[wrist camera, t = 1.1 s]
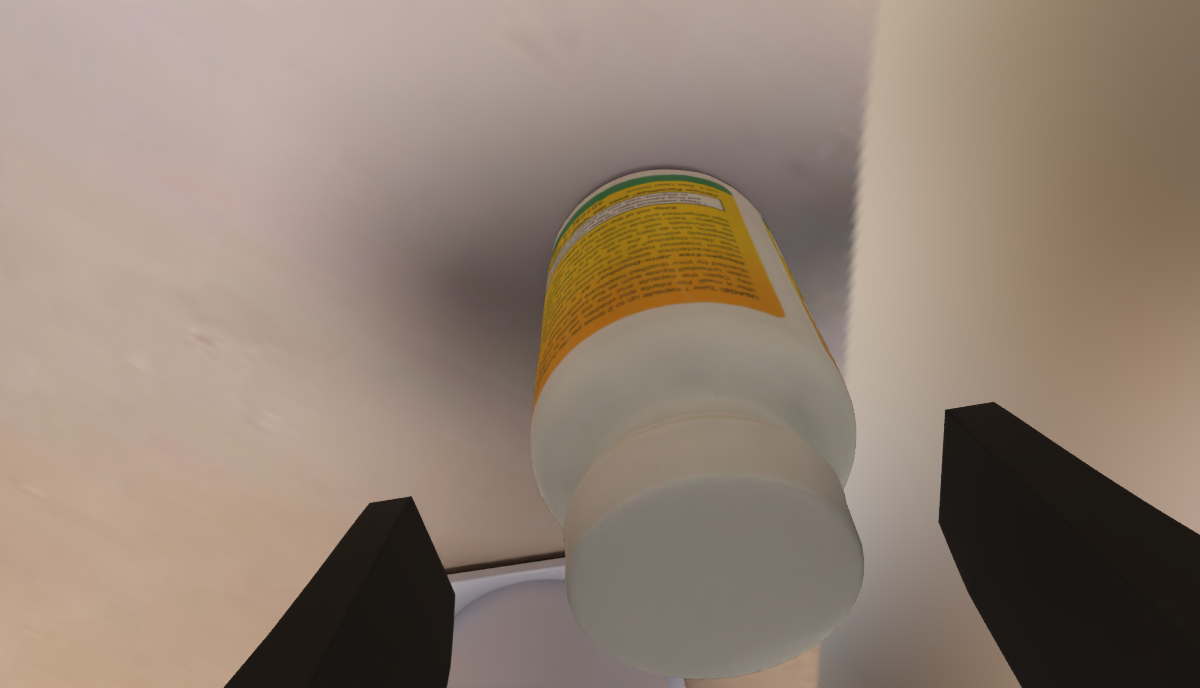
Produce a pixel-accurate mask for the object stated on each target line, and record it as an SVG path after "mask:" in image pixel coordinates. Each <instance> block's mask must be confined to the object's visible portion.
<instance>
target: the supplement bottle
mask: <svg viewBox="0 0 1200 688" xmlns="http://www.w3.org/2000/svg"><path fill="white" fill-rule="evenodd" d="M855 447H856V423H855V414H854V409H853V405H852V401H851V398H850V395H849V393H848V390H847V387H846V385H845V382H844V380H843V378H842V376H841V374H840V371H839V369H838V367H837V365H836V363H835V361H834V359H833V357H832V355H831V352H830V351H829V349H828V347H827V345H826V343H825V341H824V339H823V337H822V335H821V333H820V331H819V329H818V327H817V325H816V323H815V321H814V319H813V317H812V315H811V313H810V311H809V309H808V307H807V305H806V303H805V301H804V299H803V297H802V295H801V293H800V291H799V289H798V287H797V285H796V283H795V281H794V279H793V277H792V275H791V273H790V270H789V268H788V266H787V264H786V262H785V260H784V258H783V256H782V254H781V252H780V250H779V248H778V246H777V243H776V241H775V239H774V237H773V235H772V234H771V232H770V230H769V228H768V226H767V225H766V223H765V221H764V220H763V218H762V217H761V215H760V214H759V212H758V211H757V210H756V208H755V207H754V206H753V205H752V204H751V203H750V202H749V201H748V200H747V199H746V198H745V197H744V196H743V195H741V194H740V193H739V192H738V191H736V190H735V189H734V188H732V187H731V186H729V185H727V184H725V183H723V182H721V181H720V180H718V179H716V178H713V177H711V176H709V175H706V174H702V173H698V172H691V171H682V170H650V171H643V172H638V173H634V174H629V175H626V176H624V177H621V178H618V179H616V180H613V181H611V182H609V183H607V184H606V185H604V186H602V187H600V188H599V189H598V190H596V191H595V192H593V193H592V194H590V195H589V196H588V197H587V198H585V199H584V200H583V201H582V202H581V203H580V204H579V205H578V206H577V207H576V208H575V209H574V211H573V212H572V213H571V214H570V215H569V217H568V218H567V219H566V221H565V222H564V224H563V226H562V227H561V229H560V231H559V233H558V235H557V237H556V240H555V243H554V246H553V250H552V253H551V258H550V263H549V269H548V276H547V287H546V295H545V304H544V313H543V322H542V333H541V342H540V351H539V358H538V366H537V375H536V385H535V396H534V407H533V416H532V425H531V434H530V450H531V463H532V468H533V472H534V476H535V481H536V484H537V486H538V489H539V491H540V494H541V496H542V498H543V500H544V502H545V504H546V506H547V507H548V509H549V511H550V512H551V514H552V515H553V517H554V518H555V519H556V520H557V522H558V523H559V524H560V525H561V526H562V528H563V529H564V541H565V586H566V593H567V599H568V604H569V606H570V609H571V612H572V614H573V616H574V619H575V621H576V623H577V625H578V626H579V628H580V629H581V631H582V632H583V633H584V634H585V635H586V636H587V637H588V639H589V640H590V641H591V642H592V643H593V644H594V645H596V646H597V647H598V648H599V649H600V650H601V651H603V652H604V653H606V654H607V655H609V656H610V657H612V658H614V659H616V660H618V661H620V662H621V663H623V664H625V665H628V666H630V667H633V668H635V669H638V670H642V671H646V672H649V673H652V674H655V675H660V676H666V677H672V678H684V679H719V678H730V677H735V676H740V675H745V674H750V673H755V672H759V671H762V670H764V669H767V668H770V667H773V666H776V665H778V664H781V663H783V662H785V661H787V660H789V659H791V658H794V657H796V656H798V655H800V654H802V653H804V652H806V651H808V650H809V649H811V648H812V647H814V646H815V645H817V644H818V643H819V642H820V641H822V640H823V639H824V638H826V637H827V636H828V635H829V634H830V633H831V632H832V631H833V630H834V629H835V628H836V627H837V626H838V625H839V624H840V623H841V622H842V621H843V619H844V618H845V617H846V615H847V614H848V613H849V611H850V609H851V608H852V606H853V604H854V603H855V601H856V599H857V597H858V594H859V592H860V589H861V586H862V582H863V576H864V556H863V548H862V543H861V541H860V538H859V535H858V533H857V530H856V528H855V525H854V523H853V520H852V517H851V514H850V511H849V509H848V506H847V503H846V499H845V494H844V491H843V489H844V487H845V485H846V483H847V480H848V477H849V474H850V471H851V468H852V464H853V461H854V454H855Z"/></svg>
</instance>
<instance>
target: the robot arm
mask: <svg viewBox="0 0 1200 688" xmlns="http://www.w3.org/2000/svg"><path fill="white" fill-rule="evenodd" d="M939 524H940V526H941V529H942V532H943V534H944V536H945V539H946V541H947V544H948V546H949V549H950V551H951V554H952V556H953V558H954V561H955V563H956V566H957V568H958V570H959V572H960V575H961V577H962V580H963V582H964V584H965V586H966V589H967V591H968V593H969V595H970V597H971V599H972V600H973V602H974V604H975V606H976V608H977V609H978V611H979V613H980V615H981V617H982V618H983V620H984V622H985V624H986V625H987V627H988V629H989V631H990V632H991V634H992V636H993V638H994V640H995V641H996V643H997V645H998V646H999V648H1000V650H1001V652H1002V654H1003V655H1004V657H1005V659H1006V661H1007V662H1008V664H1009V666H1010V668H1011V669H1012V671H1013V673H1014V675H1015V676H1016V678H1017V680H1018V682H1019V683H1020V685H1021V686H1022V688H1200V535H1199V534H1198V533H1196V532H1194V531H1193V530H1191V529H1189V528H1188V527H1186V526H1184V525H1182V524H1181V523H1179V522H1177V521H1176V520H1174V519H1173V518H1171V517H1169V516H1168V515H1166V514H1164V513H1162V512H1161V511H1160V510H1158V509H1156V508H1155V507H1153V506H1151V505H1150V504H1148V503H1146V502H1145V501H1143V500H1142V499H1140V498H1139V497H1137V496H1135V495H1134V494H1132V493H1131V492H1129V491H1128V490H1126V489H1124V488H1123V487H1121V486H1120V485H1118V484H1117V483H1115V482H1114V481H1112V480H1110V479H1109V478H1107V477H1106V476H1104V475H1103V474H1101V473H1100V472H1098V471H1097V470H1095V469H1093V468H1092V467H1090V466H1089V465H1088V464H1086V463H1085V462H1083V461H1082V460H1080V459H1079V458H1077V457H1075V456H1074V455H1072V454H1071V453H1069V452H1068V451H1067V450H1065V449H1063V448H1062V447H1061V446H1059V445H1057V444H1056V443H1054V442H1053V441H1051V440H1050V439H1049V438H1047V437H1045V436H1044V435H1043V434H1041V433H1040V432H1038V431H1037V430H1035V429H1034V428H1032V427H1031V426H1029V425H1028V424H1026V423H1025V422H1024V421H1022V420H1021V419H1019V418H1018V417H1016V416H1015V415H1013V414H1012V413H1010V412H1008V411H1007V410H1005V409H1004V408H1002V407H1001V406H999V405H998V404H996V403H995V402H990V403H984V404H978V405H972V406H966V407H960V408H953V409H947V410H945V423H944V440H943V456H942V474H941V491H940V507H939ZM224 688H686V685H685V680H684V678H672V677H666V676H660V675H655V674H652V673H649V672H646V671H642V670H638V669H635V668H633V667H630V666H628V665H625V664H623V663H621V662H620V661H618V660H616V659H614V658H612V657H610V656H609V655H607V654H606V653H604V652H603V651H601V650H600V649H599V648H598V647H597V646H596V645H594V644H593V643H592V642H591V641H590V640H589V639H588V637H587V636H586V635H585V634H584V633H583V632H582V631H581V629H580V628H579V626H578V625H577V623H576V621H575V619H574V616H573V614H572V612H571V609H570V606H569V604H568V599H567V593H566V586H565V557H564V558H557V559H551V560H544V561H537V562H530V563H524V564H517V565H510V566H503V567H497V568H490V569H483V570H477V571H470V572H463V573H456V574H450V575H447V574H446V572H445V570H444V567H443V565H442V563H441V561H440V559H439V556H438V554H437V552H436V550H435V547H434V545H433V543H432V541H431V538H430V536H429V534H428V532H427V530H426V527H425V525H424V523H423V521H422V518H421V516H420V514H419V512H418V509H417V507H416V505H415V503H414V501H413V498H412V496H410V497H404V498H398V499H392V500H386V501H380V502H373V503H369V505H368V506H367V507H366V508H365V510H364V511H363V512H362V513H361V515H360V516H359V517H358V518H357V520H356V521H355V522H354V524H353V525H352V526H351V528H350V529H349V530H348V531H347V533H346V534H345V535H344V537H343V538H342V539H341V541H340V542H339V543H338V545H337V546H336V547H335V549H334V550H333V551H332V553H331V554H330V555H329V557H328V558H327V559H326V561H325V562H324V563H323V565H322V566H321V567H320V569H319V570H318V571H317V573H316V574H315V575H314V577H313V578H312V579H311V580H310V582H309V583H308V584H307V586H306V587H305V588H304V589H303V591H302V592H301V593H300V595H299V596H298V597H297V598H296V600H295V601H294V602H293V604H292V605H291V606H290V607H289V609H288V610H287V611H286V613H285V614H284V615H283V617H282V618H281V619H280V620H279V622H278V623H277V624H276V626H275V627H274V628H273V629H272V631H271V632H270V633H269V634H268V636H267V637H266V638H265V639H264V640H263V642H262V643H261V644H260V645H259V646H258V647H257V649H256V650H255V651H254V652H253V653H252V655H251V656H250V657H249V658H248V659H247V661H246V662H245V663H244V664H243V665H242V666H241V668H240V669H239V670H238V671H237V672H236V674H235V675H234V676H233V677H232V678H231V680H230V681H229V682H228V683H227V684H226V685H225V687H224Z"/></svg>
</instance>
